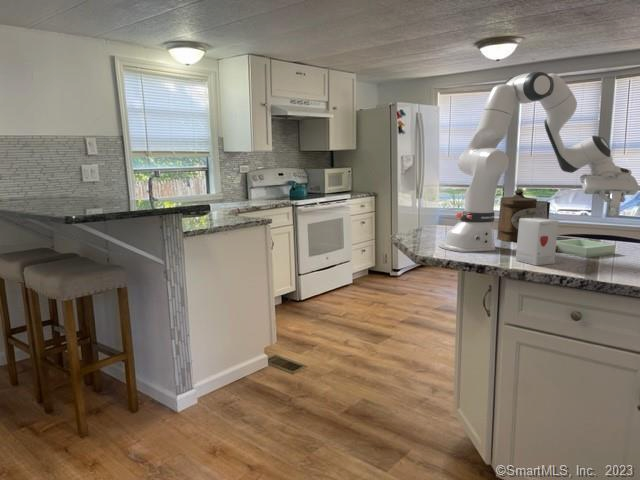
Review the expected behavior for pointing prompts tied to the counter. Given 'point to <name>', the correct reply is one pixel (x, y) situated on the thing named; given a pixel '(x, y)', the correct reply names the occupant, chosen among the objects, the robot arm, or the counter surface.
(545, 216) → the coffee box
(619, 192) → the clear glass cylinder
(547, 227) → the supplement box
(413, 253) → the counter surface
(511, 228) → the wooden container
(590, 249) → the tray
